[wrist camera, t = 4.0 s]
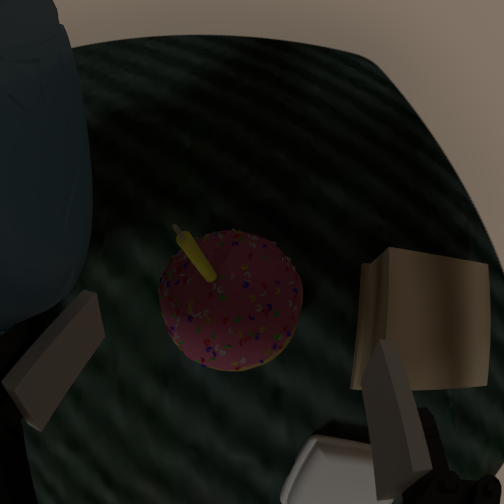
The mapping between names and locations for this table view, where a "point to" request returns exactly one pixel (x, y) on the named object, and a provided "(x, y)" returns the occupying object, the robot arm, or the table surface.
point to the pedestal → (426, 318)
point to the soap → (332, 474)
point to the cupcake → (230, 299)
